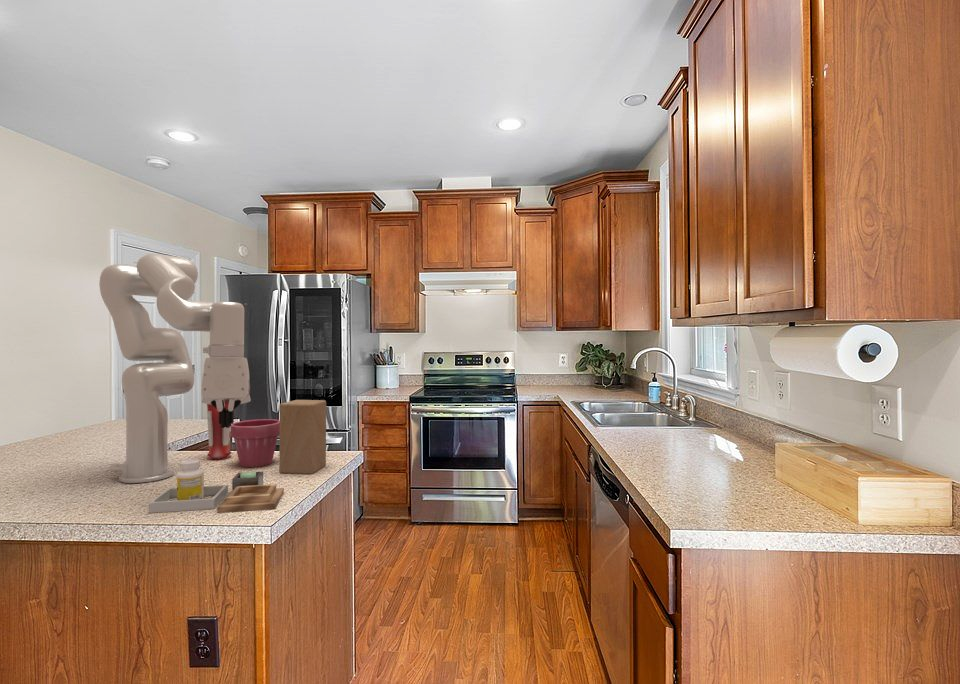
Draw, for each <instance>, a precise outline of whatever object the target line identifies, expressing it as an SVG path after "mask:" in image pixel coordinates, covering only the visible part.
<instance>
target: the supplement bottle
mask: <svg viewBox="0 0 960 684" xmlns="http://www.w3.org/2000/svg"><path fill="white" fill-rule="evenodd" d="M179 466H180V467H179V468H180V471H179V472H178V473H177V474H176V488H177V497H176V498H177V499H176V501H178V500H195V499H205V496H204V486H205V482H204V481H205V478H204V477H205V475H204V470H203V468H202V469H201V468H200V467H201V460H200V459H197V458H196V459H194V458H193V459H186V460H185V459H184V460H182V461H180V463H179Z"/></svg>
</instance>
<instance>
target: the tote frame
mask: <svg viewBox="0 0 960 684" xmlns="http://www.w3.org/2000/svg"><path fill="white" fill-rule="evenodd" d="M228 487H229V485H228V484H219V485H204V497H205V496H206V497H209V496H213V497H212V498H204V499H195V500H178V501H177V500H169V499H172V498H173V499H174V498H177V487H168V488H167V489H166V490H164V491H163V492H161V493H160V494H159V495H157V496H156V497H154V498H153V499H151V500H150V501H149V502H148V514H154V513H155V514H156V513H170V512H171V513H172V512H186V511H201V510H202V511H203V510H214V509H216V508H217V507H218V506H219V505H220V504H221V502H222V501H223V500H224V499H225V498H226V497H227V496H228V495H229V490H228V489H229V488H228Z"/></svg>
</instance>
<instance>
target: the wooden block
mask: <svg viewBox="0 0 960 684" xmlns="http://www.w3.org/2000/svg"><path fill="white" fill-rule="evenodd" d="M279 421H280V434H279V445H278V446H279V447H278V448H279V455H278V456H279V462H278V463H279V464H278V465H279V466H278V467H279V469H278V470H279V474H300V475H312V474H314V473H316V472H317V471H319V470H321V469H322V468H324V467H326V466H327V401H326V400H325V399H320V400H319V399H313V400H312V399H295V400H290V401H286V402H282V403H280V404H279Z"/></svg>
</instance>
